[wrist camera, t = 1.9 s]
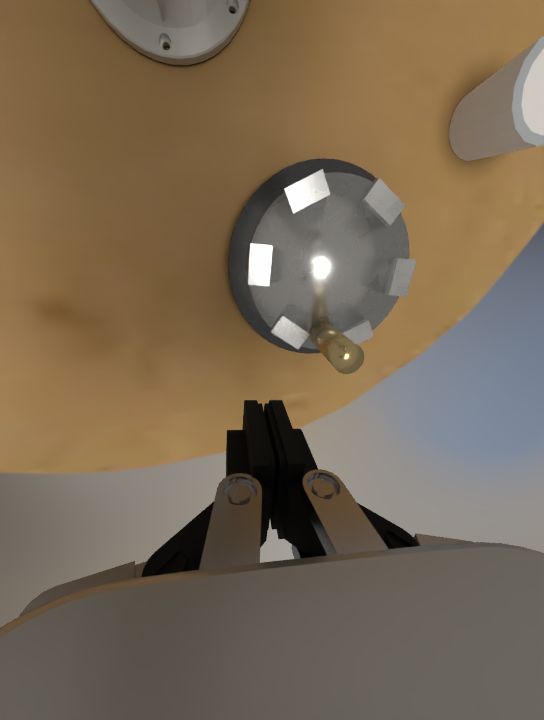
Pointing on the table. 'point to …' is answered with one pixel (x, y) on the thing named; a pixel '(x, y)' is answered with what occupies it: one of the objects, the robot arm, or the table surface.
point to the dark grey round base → (247, 225)
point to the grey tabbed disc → (330, 264)
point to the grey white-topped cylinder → (503, 110)
